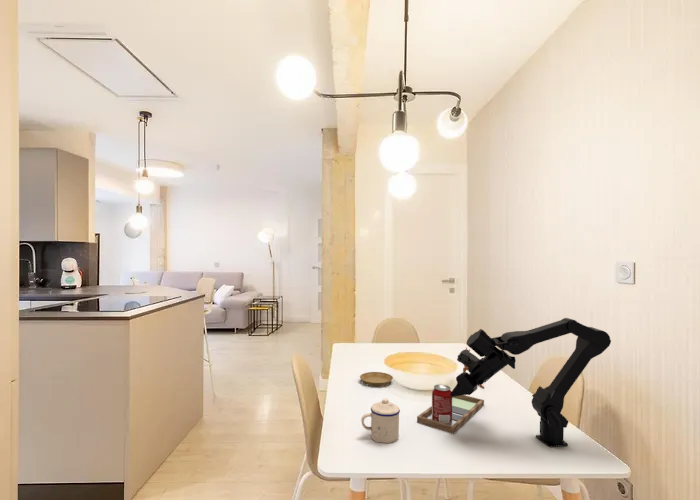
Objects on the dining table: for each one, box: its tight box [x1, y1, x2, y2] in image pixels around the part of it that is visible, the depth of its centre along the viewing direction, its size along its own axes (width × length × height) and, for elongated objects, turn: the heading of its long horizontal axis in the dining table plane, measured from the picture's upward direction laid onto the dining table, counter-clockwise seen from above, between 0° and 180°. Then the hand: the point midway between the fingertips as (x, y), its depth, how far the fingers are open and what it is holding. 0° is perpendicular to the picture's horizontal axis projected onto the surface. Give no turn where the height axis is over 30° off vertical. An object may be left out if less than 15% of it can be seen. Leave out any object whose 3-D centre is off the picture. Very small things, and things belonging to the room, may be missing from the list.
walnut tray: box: [416, 395, 485, 435], centre depth 135 cm, size 30×13×2 cm, turn 143°
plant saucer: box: [359, 371, 394, 388], centre depth 167 cm, size 15×15×3 cm
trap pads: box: [452, 406, 468, 422], centre depth 135 cm, size 11×11×1 cm
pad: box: [452, 398, 476, 411], centre depth 143 cm, size 8×11×1 cm
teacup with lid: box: [360, 398, 401, 444], centre depth 117 cm, size 12×9×12 cm
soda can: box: [431, 383, 453, 425], centre depth 128 cm, size 7×7×12 cm
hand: (456, 391), depth 125 cm, fingers open, 9 cm apart
